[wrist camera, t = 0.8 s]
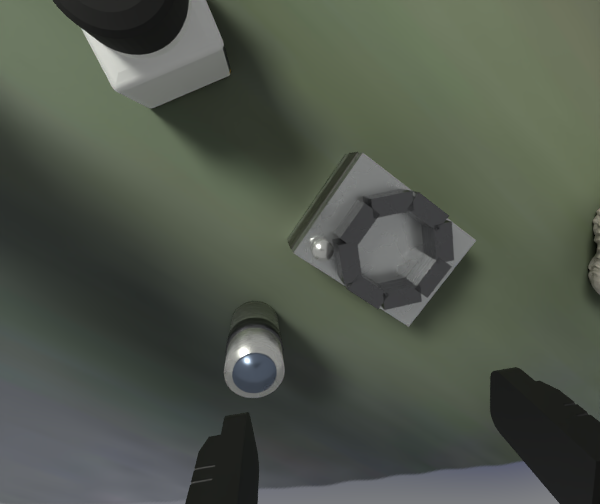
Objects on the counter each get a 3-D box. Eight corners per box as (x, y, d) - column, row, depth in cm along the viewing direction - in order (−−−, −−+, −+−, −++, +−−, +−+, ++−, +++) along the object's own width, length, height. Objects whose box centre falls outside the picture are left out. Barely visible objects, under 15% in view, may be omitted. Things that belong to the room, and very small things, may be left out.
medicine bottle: (233, 75, 27) (216, 10, 15) (149, 110, 27) (70, 72, 15) (190, -25, 25) (135, -186, 13) (100, 13, 25) (-34, -116, 13)
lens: (221, 330, 32) (210, 384, 24) (247, 291, 32) (244, 334, 24) (261, 352, 33) (263, 410, 26) (288, 315, 33) (298, 363, 25)
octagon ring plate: (286, 238, 31) (295, 260, 24) (345, 153, 30) (372, 150, 23) (387, 304, 34) (419, 339, 27) (444, 228, 33) (493, 246, 26)
